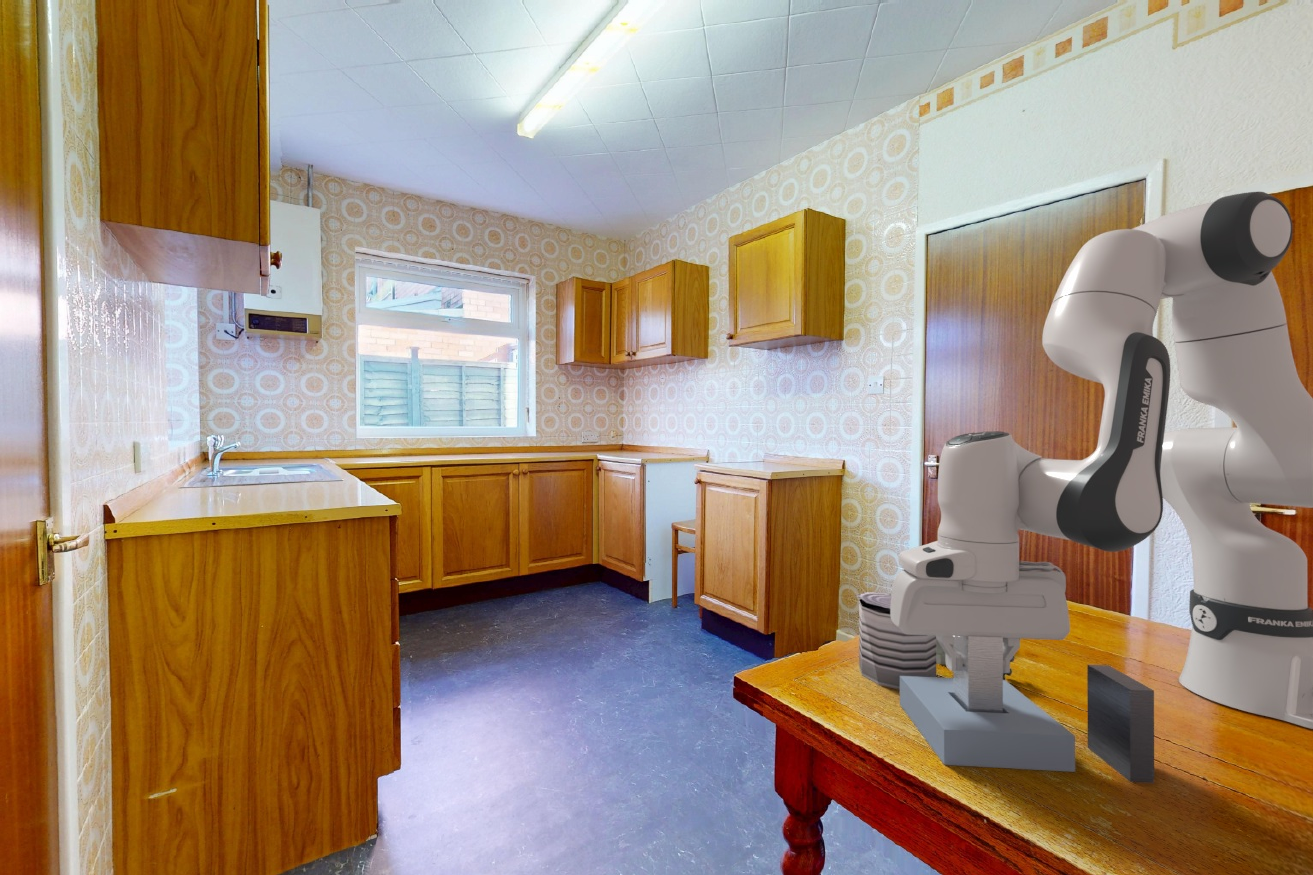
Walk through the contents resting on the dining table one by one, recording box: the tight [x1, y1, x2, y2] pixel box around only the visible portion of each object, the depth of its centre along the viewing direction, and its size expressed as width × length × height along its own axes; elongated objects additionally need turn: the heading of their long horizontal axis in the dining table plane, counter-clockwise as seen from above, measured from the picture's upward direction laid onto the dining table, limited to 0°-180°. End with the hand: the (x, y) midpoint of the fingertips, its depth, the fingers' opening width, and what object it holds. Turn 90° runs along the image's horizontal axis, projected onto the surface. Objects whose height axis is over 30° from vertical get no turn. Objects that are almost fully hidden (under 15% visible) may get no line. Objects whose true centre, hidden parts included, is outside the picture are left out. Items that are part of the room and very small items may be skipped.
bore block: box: [899, 676, 1076, 773], centre depth 67 cm, size 14×14×4 cm
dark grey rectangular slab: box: [1086, 664, 1155, 784], centre depth 61 cm, size 2×6×10 cm, turn 175°
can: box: [856, 591, 937, 691], centre depth 85 cm, size 11×11×12 cm
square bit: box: [952, 635, 1003, 713], centre depth 67 cm, size 4×4×10 cm
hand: (977, 670), depth 67 cm, fingers closed on square bit, 4 cm apart
